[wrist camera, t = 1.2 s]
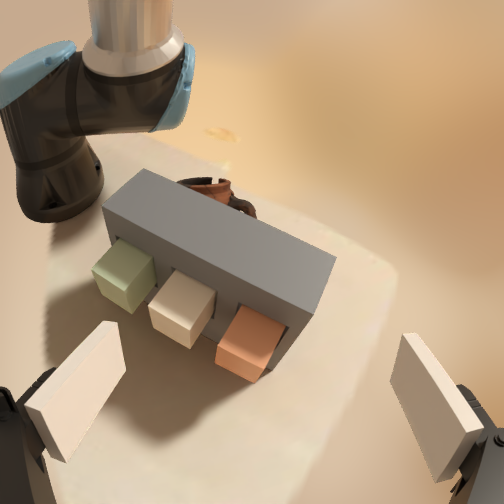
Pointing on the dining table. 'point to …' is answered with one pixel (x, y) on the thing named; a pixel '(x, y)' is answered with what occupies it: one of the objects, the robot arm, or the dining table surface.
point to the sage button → (125, 275)
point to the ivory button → (182, 308)
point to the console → (221, 254)
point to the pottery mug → (219, 193)
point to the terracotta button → (248, 343)
